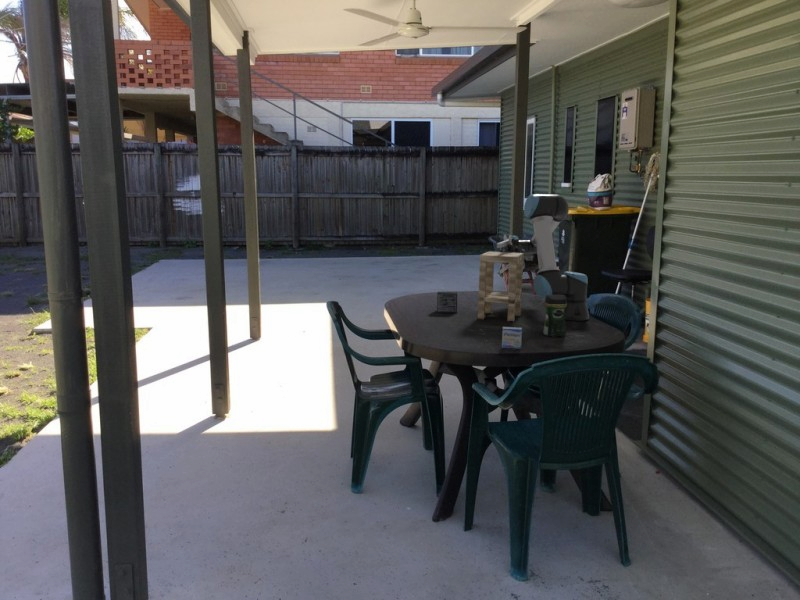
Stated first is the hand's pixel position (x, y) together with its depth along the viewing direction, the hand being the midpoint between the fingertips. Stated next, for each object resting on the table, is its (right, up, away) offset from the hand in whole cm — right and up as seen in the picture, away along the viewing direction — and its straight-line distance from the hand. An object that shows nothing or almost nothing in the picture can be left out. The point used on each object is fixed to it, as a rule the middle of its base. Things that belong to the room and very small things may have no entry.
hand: (507, 237), depth 340 cm
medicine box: (-9, -53, -63) cm, 83 cm away
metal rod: (-2, -5, -4) cm, 6 cm away
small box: (-30, -39, +9) cm, 50 cm away
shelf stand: (-4, -41, -2) cm, 41 cm away
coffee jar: (+15, -48, -40) cm, 64 cm away
